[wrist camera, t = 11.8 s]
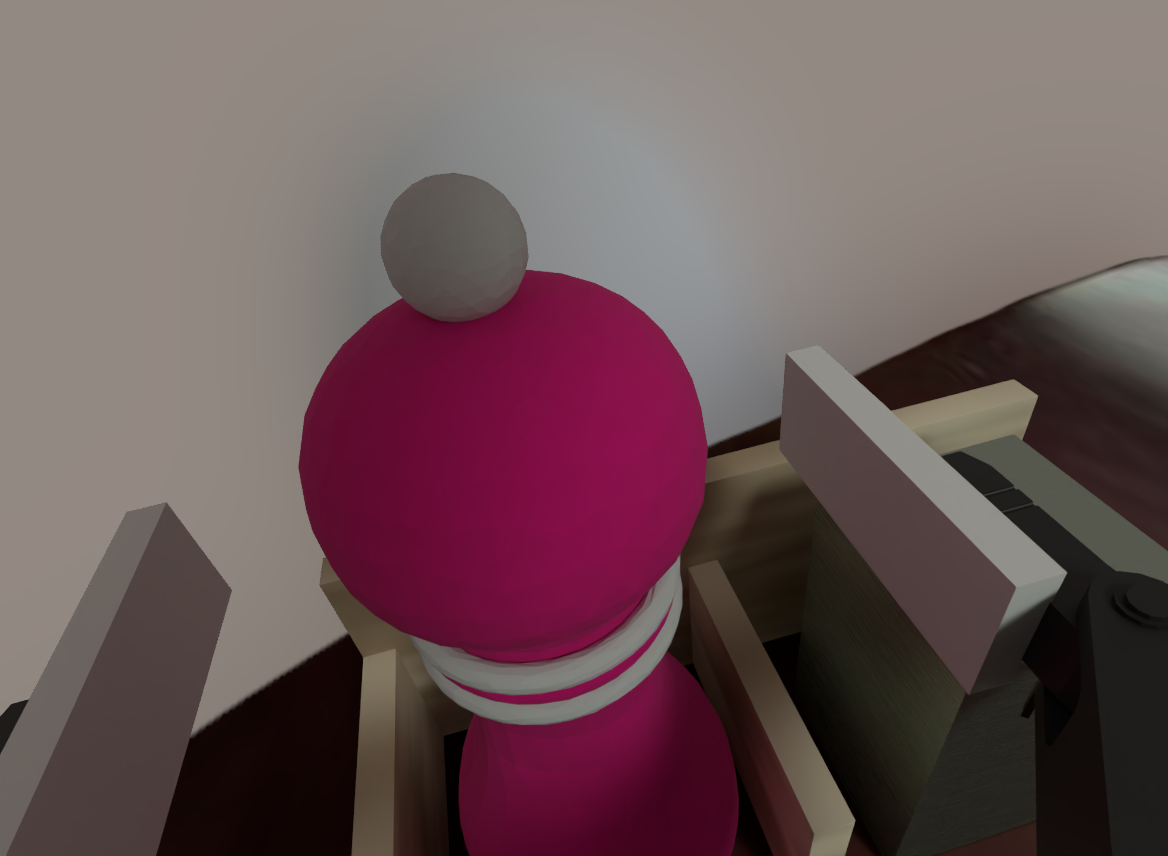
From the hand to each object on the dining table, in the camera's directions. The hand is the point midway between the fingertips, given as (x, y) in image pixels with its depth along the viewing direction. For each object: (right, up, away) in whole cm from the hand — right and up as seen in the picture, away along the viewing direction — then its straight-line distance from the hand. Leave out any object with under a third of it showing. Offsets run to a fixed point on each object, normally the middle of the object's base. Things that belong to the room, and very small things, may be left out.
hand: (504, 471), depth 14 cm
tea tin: (+13, -9, +7) cm, 17 cm away
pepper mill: (+3, -12, +6) cm, 14 cm away
